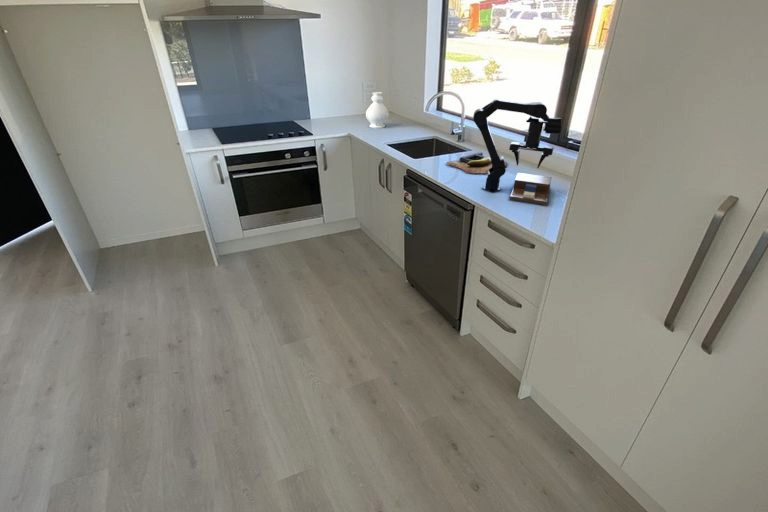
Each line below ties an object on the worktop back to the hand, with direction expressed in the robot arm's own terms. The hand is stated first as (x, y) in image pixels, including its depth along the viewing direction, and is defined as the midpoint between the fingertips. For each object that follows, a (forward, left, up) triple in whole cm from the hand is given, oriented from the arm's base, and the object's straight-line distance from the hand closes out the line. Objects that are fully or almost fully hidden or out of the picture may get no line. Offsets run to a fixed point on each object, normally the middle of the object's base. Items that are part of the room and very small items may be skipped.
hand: (527, 166), depth 185 cm
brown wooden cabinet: (0, -4, -13) cm, 13 cm away
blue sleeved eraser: (-5, -7, -11) cm, 14 cm away
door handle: (+20, +46, -13) cm, 52 cm away
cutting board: (+16, +41, -11) cm, 45 cm away
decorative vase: (+28, +158, -13) cm, 161 cm away
